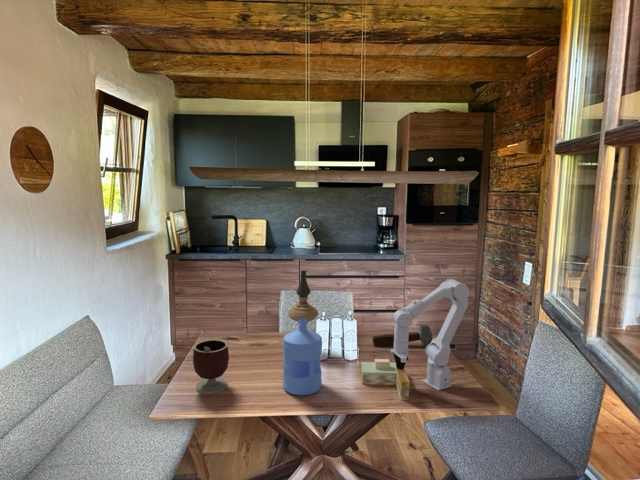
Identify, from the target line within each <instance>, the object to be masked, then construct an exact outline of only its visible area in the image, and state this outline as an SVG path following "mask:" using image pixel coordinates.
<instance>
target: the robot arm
mask: <svg viewBox="0 0 640 480" xmlns="http://www.w3.org/2000/svg"><path fill="white" fill-rule="evenodd" d="M470 294H471V291H470V290H469V287H468V286H467V285H466V284H465V283H463V282H460V281H458V280H456V279H454V278H447V279H446V280H445V281H442V282H441V283H440V285H439V286H438V287H436V288H435V289H434V290H433V291H431V292H430V293H429V294H427V295H426V296H425V297H423V298H422V299H414V300H412V301H411V303H409V304H408V305H406V306H405V307H401V309H397V310H396V311H395V312H394V314H393V315H392V320H393V323H394V330H393V331H394V333H393V334H394V345H393V349H390V353H391V354H392V356H393V359H394V361H395V362H394V363H396V368H397V369H404V370H405V365H406V363H407V362H408V360H409V356H408V355H409V342H408V338H409V333H410V331H409V330H410V326H411V325H412V323H413V321H414V320H415V319H417V318H419V316H421V315H422V314H423V315H424V313H425V312H427V311H426V310H427V307H430V306H431V305H433V304H434V303H436V302H438V301H440V300H441V299H443V298H447V299H450V300H451V302H452V305H451V308H450V309H449V312H448V313H447V316H446V317H445V320H444V322H443V324H442V325H441V329H440V330H439V332H438V335H437V337H436V338H432V341H431V343H430V344H429V345H428V346H427V347H425V355H426V356H427V367H426V378H423V379H421V381H422V382H423V383H425V384H426V385H428V386H430V387H431V388H434V390H436V391H441V390H444V389H447V388H448V389H449V388H452V386H453V385H452V370H451V369H450V368H449V367H448V366H447V364H448V363H449V360H450V354H451V347H450V344H451V342H452V340H453V337H454V336H455V333H456V332H457V329H458V328H459V325H460V323H461V321H462V320H463V317H464V315H465V312H466V310H467V309H468V306H469V295H470Z"/></svg>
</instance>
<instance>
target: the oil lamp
mask: <svg viewBox="0 0 640 480" xmlns="http://www.w3.org/2000/svg"><path fill="white" fill-rule="evenodd" d="M295 291H296V292H295V293H296V294H297V295H298V300H299V301H295V304H294V305H293V306H292V307H291V308H290V309H289V310H288V311H287V315H288V317H289V318H290V319H291V320H293V321H294V322H297V323H298V324H299V320H300V319H306V320H307V322H306V324H307V325H308V323H309V322H311V321H314V320H315V319H316V318H317V317H318V316H319V314H320V313H319V311H318V309H317V308H316V307H315V306H314V305H313V304H311V303H309V302H308V298H309V295H310V294H311V291H312V290H311V289H310V287H309V285H308V281H307V271H306V270H301V271H300V281H299V285H298V286H297V289H296V290H295ZM307 330H309V329H308V328H307Z"/></svg>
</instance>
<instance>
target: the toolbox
mask: <svg viewBox="0 0 640 480" xmlns="http://www.w3.org/2000/svg"><path fill="white" fill-rule="evenodd" d="M360 375H361V376H360V377H361V381H362V385H381V386H382V385H383V386H386V385H387V386H395V387H396V391H397V393H398V397H399V399H400V401H409V400H410V399H409V398H410V396H409V394H410V387H409V388H401V385H400V383H399V380H398V377H397V373H396V376H385V375H363V373H362V367H361V366H360Z"/></svg>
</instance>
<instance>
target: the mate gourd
mask: <svg viewBox="0 0 640 480" xmlns="http://www.w3.org/2000/svg"><path fill="white" fill-rule="evenodd" d="M229 353H230V352H229V347H228V343H227V342H226V341H225V340H221V339H207V340H202V341H199V342H198V343H196V344H194V347H193V351H192V364H193V369H194V372H195V373H196V374H197V376H199V377H200V379H201V380H200V381H199V382H197V383H196V386H195V389H196V391H197V392H198V393H200V394H207V395H211V394H217V393H220V392H222V391H224V390H225V389H226V388H227V387H228V381H227V380H226V379H225V378H221V377H222V376H223V375H224V374H225V372H226V371H227V370H228V367H229V362H230V355H229Z"/></svg>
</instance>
